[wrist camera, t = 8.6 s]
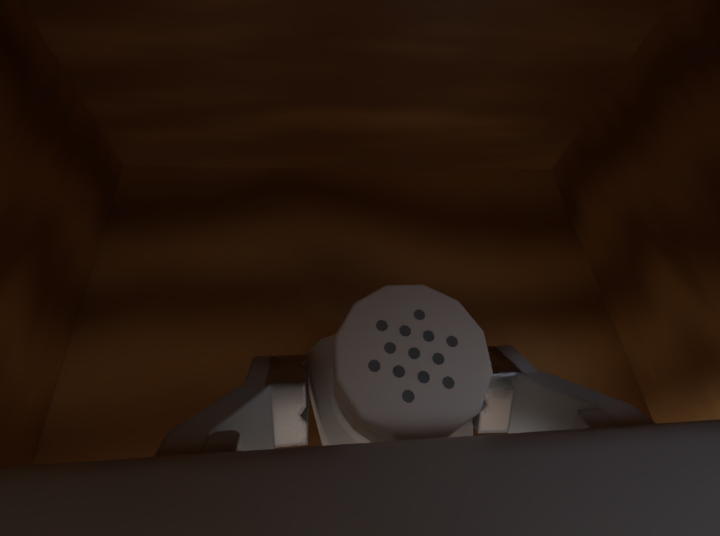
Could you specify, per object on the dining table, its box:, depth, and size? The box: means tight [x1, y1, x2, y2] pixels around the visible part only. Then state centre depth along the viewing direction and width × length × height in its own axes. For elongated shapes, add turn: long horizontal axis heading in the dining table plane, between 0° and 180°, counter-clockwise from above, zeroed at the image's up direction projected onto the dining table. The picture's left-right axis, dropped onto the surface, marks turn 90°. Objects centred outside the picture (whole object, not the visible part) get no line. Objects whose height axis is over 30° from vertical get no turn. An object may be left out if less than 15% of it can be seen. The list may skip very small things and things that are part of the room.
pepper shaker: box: [307, 284, 493, 446], centre depth 12 cm, size 4×4×10 cm
